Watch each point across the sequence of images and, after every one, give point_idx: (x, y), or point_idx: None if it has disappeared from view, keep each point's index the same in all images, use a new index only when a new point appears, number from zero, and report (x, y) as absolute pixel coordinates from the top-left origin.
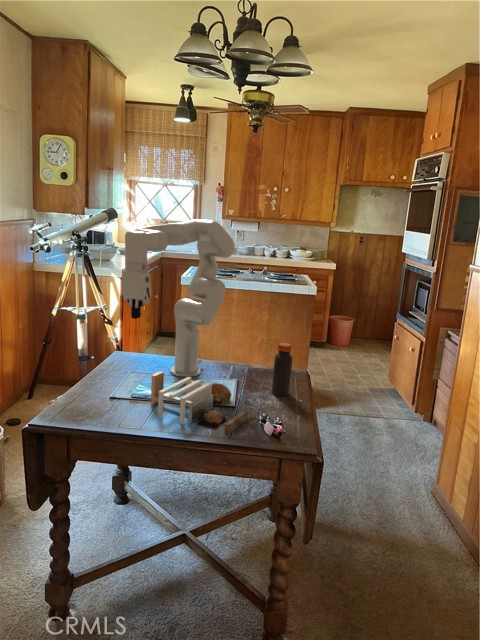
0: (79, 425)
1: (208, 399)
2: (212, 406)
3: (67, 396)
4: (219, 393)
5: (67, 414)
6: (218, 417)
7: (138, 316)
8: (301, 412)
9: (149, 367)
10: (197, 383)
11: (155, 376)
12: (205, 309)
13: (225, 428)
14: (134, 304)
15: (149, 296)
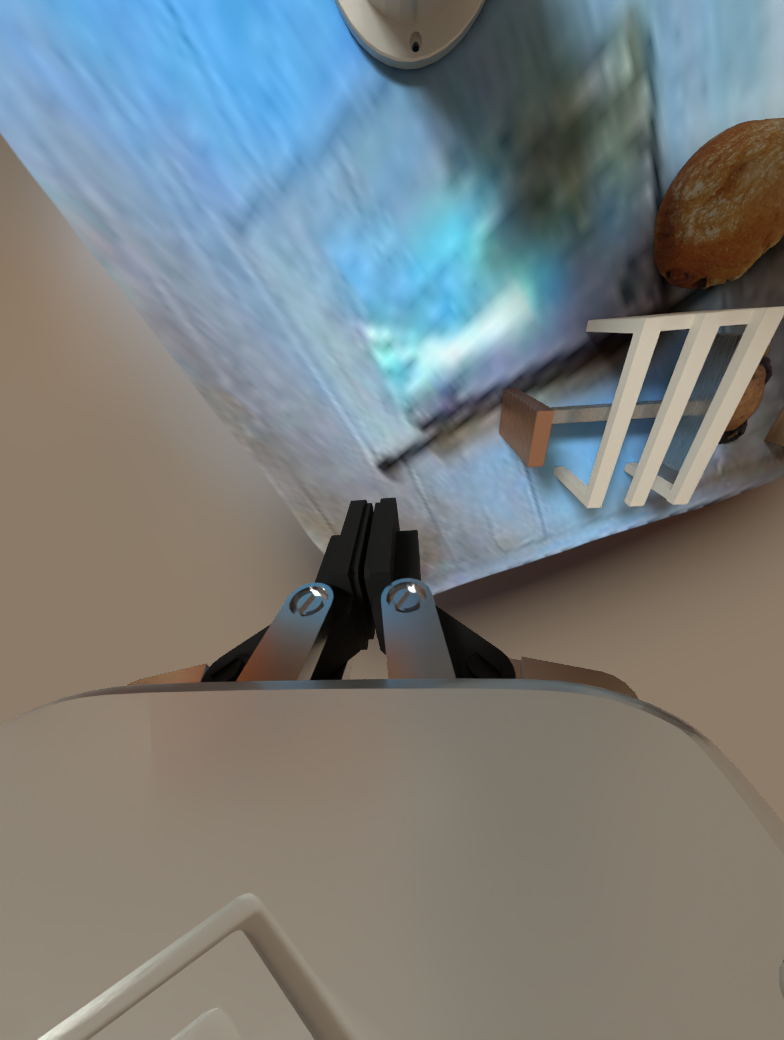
0: (435, 584)
1: None
2: (718, 333)
3: (304, 523)
4: (768, 244)
5: None
6: (757, 407)
7: (397, 527)
8: None
9: (219, 74)
10: (706, 350)
11: (542, 462)
12: None
13: (781, 445)
14: (341, 644)
15: (633, 734)
